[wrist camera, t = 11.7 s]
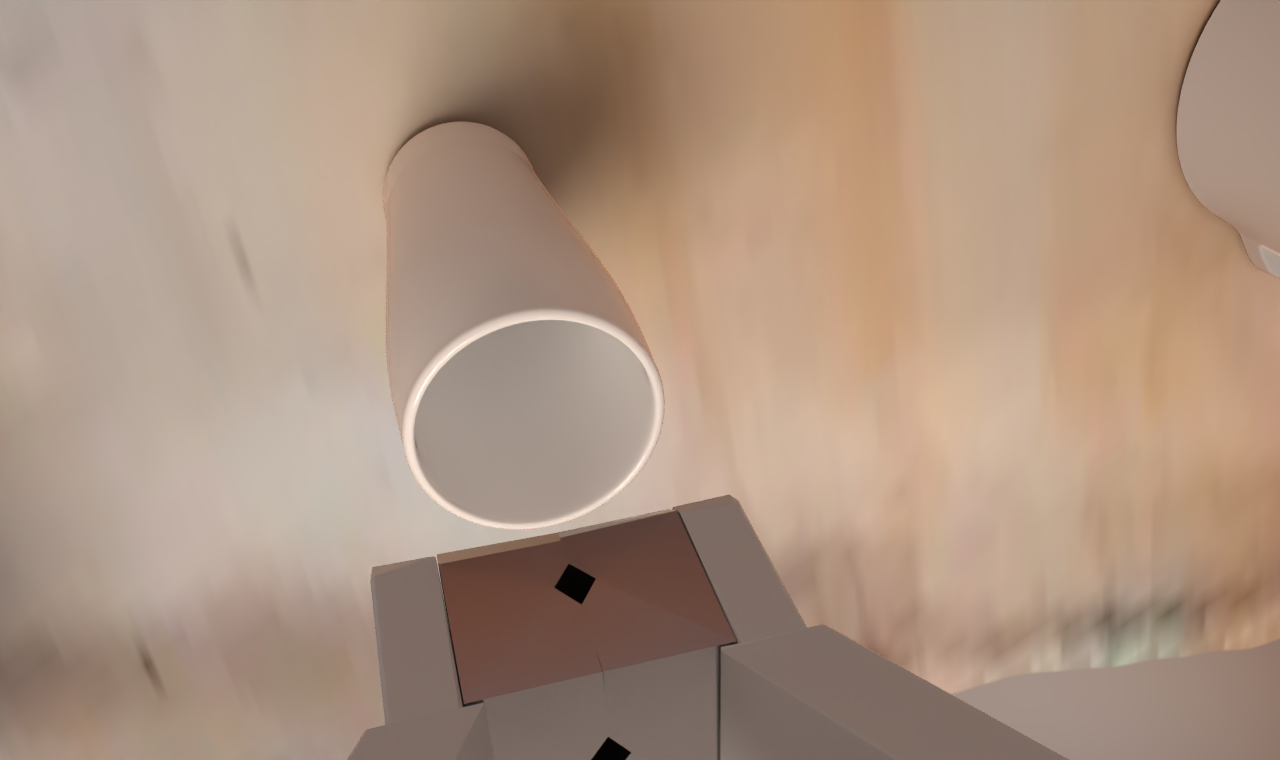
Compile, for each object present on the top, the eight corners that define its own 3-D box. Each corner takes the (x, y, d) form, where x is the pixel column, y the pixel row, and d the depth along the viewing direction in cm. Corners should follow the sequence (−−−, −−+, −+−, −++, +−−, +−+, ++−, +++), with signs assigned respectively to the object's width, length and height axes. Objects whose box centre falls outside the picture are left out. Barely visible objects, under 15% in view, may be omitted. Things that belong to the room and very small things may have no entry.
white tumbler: (441, 53, 38) (521, 255, 26) (591, 170, 42) (722, 395, 30) (319, 206, 40) (341, 462, 28) (473, 306, 43) (552, 571, 31)
